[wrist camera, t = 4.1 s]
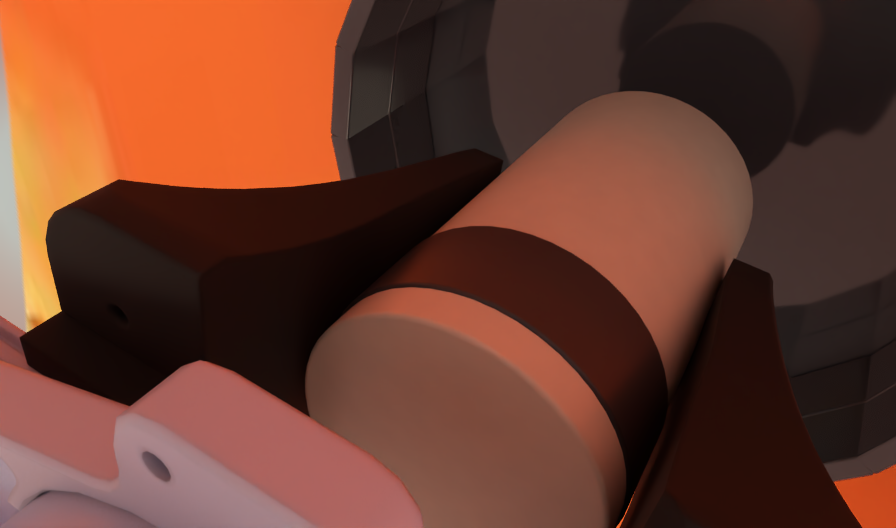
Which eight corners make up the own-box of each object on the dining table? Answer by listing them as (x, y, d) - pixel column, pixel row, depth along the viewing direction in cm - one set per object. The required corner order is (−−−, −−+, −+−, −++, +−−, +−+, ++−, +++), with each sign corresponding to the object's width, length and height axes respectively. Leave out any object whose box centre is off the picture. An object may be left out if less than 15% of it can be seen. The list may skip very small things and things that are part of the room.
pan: (1307, -108, 11) (1437, -59, 8) (840, 467, 19) (821, 589, 17) (468, -288, 15) (352, -299, 12) (397, 249, 24) (320, 317, 21)
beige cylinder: (798, 138, 13) (670, 438, 7) (704, 323, 16) (558, 644, 10) (566, 54, 14) (303, 249, 9) (518, 237, 17) (296, 476, 11)
